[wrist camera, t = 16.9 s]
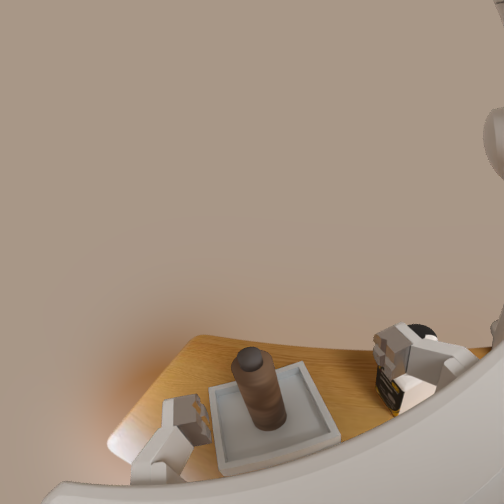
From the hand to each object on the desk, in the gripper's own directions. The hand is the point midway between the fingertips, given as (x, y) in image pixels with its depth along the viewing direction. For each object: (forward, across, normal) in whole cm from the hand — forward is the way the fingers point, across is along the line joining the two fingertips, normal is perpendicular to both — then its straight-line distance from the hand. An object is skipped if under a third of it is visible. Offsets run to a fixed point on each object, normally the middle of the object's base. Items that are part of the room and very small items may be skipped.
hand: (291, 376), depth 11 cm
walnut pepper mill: (+17, +2, +26) cm, 31 cm away
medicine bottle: (+12, -18, +27) cm, 35 cm away
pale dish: (+17, +2, +27) cm, 32 cm away
